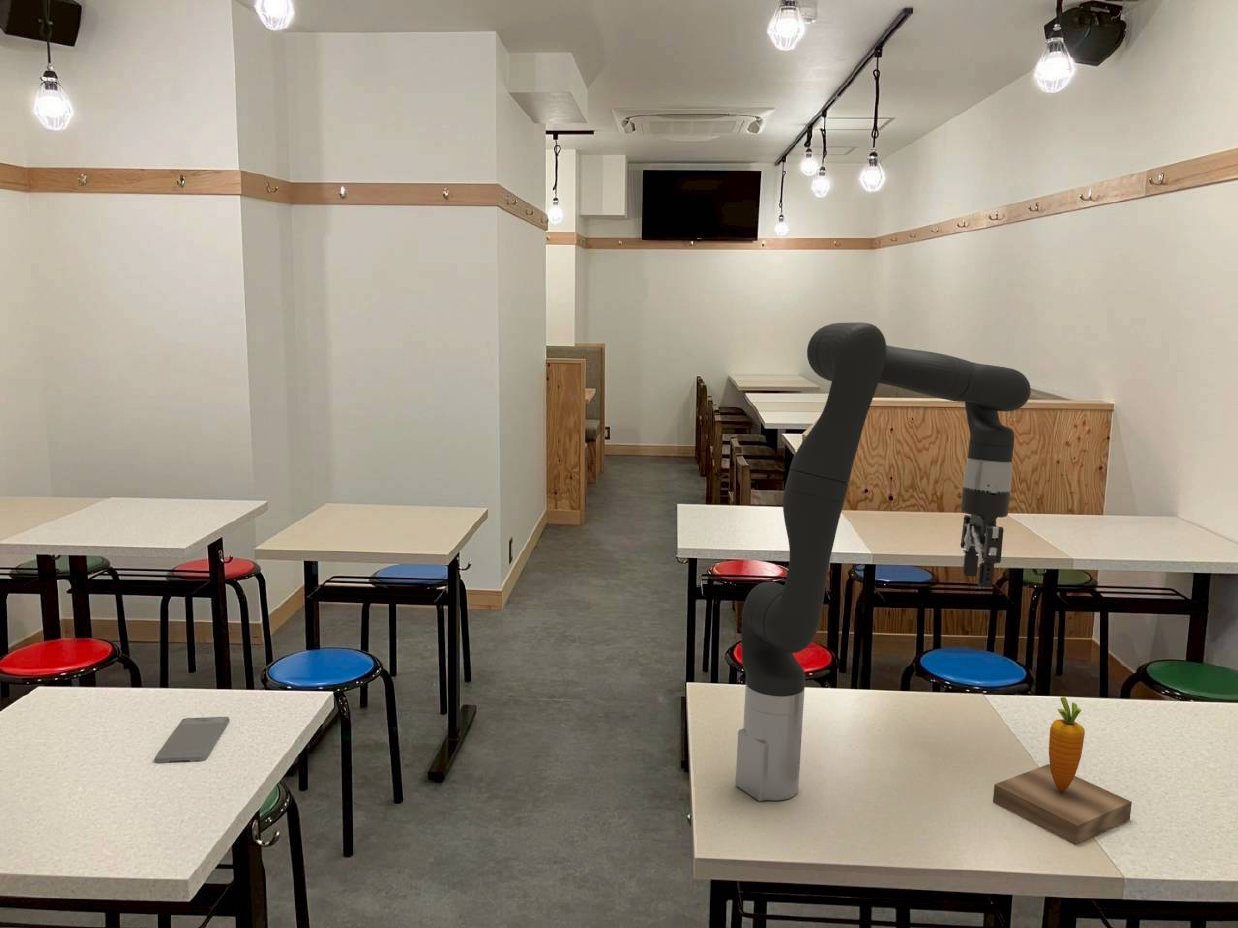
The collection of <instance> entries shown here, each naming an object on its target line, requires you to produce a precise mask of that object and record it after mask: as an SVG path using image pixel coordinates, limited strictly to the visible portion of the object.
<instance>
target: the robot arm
mask: <svg viewBox="0 0 1238 928" xmlns="http://www.w3.org/2000/svg"><path fill="white" fill-rule="evenodd" d="M808 341H809V342H808V345H807V349H806V350H807V351H806V356H807V361H808V363H809V367H810V368H811V369H812V370H813V372H814V373H815V374H816V375H817V376H818V377H821V378H822V379H824V380H826V381H829V382H830V387H829V391H828V396H827V399H826V402H825V405H824V407H823V409H822V412H821V414H820V416H819V418H818V420H816V422H815V424H814V425H813V427H812V428H811V430H810V431H809V432H808V434H807V435H806V437H804V440H803V441H802V442H801V444H800V445H799V446H798V447H797V450H796V452H795V454H794V455H793V457H792V460H791V462H790V463H791V464H790V467H789V471H788V475H787V478H786V482H785V486H784V490H783V491H784V492H783V495H782V510H783V518H784V519H783V520H784V524H785V530H786V534H787V540H788V546H789V547H788V548H789V561H788V569H787V574H786V578H785V583H784V585H783V584H781V583H778V582H775V581H764V582H761V583H758V584H756V585H755V586H754V587H753V588H752V589H750V592H749V593H748V595H747V597H746V598H745V601H744V603H743V604H744V605H743V609H742V615H741V664H742V667H743V670H744V672H745V689H744V690H745V692H744V703H743V704H744V706H743V727H742V728H740V729H738V731H737V748H736V750H737V751H736V765H735V766H736V767H735V769H736V771H735V786H736V787H738V788H739V789H740V790H742V791H744V792H745V793H747V794H748V795H749V796H751V797H752V798H754V799H755V800H757V801H758V802H763V801H783V800H789V799H791V798H793V797H795V796H796V795H797V794H798V793H799V786H800V785H799V784H800V772H801V770H800V768H801V752H802V751H801V750H802V735H803V733H802V732H803V717H804V703H805V690H806V689H805V686H806V672H805V670H804V668H803V666H802V665H801V664H800V662H799V661H798V660H797V658H796V656H794V654H798V653H799V652H802V651H804V650H805V649H807V648H808V646H809V645H811V643H812V642H813V641H814V639H815V637H816V634H817V632H818V630H819V627H820V622H821V618H822V612H823V606H824V600H825V593H826V586H827V579H828V573H829V565H830V561H831V557H832V551H833V547H834V545H835V544H834V542H835V538H836V533H837V530H838V526H839V522H840V518H841V515H842V510H843V507H844V506H845V505H844V504H845V501H846V497H847V493H848V488H849V483H850V481H851V474H852V470H853V465H854V461H855V458H856V455H857V451H858V448H859V444H860V440H861V437H862V433H863V430H864V429H863V428H864V425H865V421H866V420H867V416H868V413H869V411H870V408H871V405H872V402H873V399H874V397H875V393H876V391H877V388H878V385H879V384H881V385H882V384H884V385H886V386H892V387H895V388H899V389H902V390H907V391H911V392H914V393H919V394H922V395H926V396H930V397H933V398H938V399H942V400H947V401H950V402H957V403H958V402H959V403H964V406H965V412H966V418H967V425H968V430H969V443H968V452H967V453H968V454H967V461H966V465H965V469H964V473H963V474H964V475H963V486H962V492H961V493H962V495H961V505H960V511H961V512H962V513H964V514H965V515H964V516H963V523H962V532H961V540H960V548H961V549H962V552H963V554H964V556H963V557H964V558H963V564H962V565H963V566H962V567H963V568H962V574H963V575H964V576H965V577H976V576H977V585H978V586H979V587H985V588H991V587H992V586H993V582H994V571H995V566H996V565H997V564H1000V563H1001V562H1002V551H1003V541H1004V539H1003V538H1004V531H1005V530H1004V526H998V525H997V519H998V518H1005V517H1008V515H1009V509H1010V498H1011V490H1012V479H1013V470H1012V469H1013V468H1012V467H1013V463H1012V462H1013V456H1014V455H1013V453H1014V446H1015V445H1014V444H1015V432H1014V430H1013V429H1012V428H1010V427H1008V426H1006V425H1004V424H1002V423H1001V420H1000V416H999V412H1014V411H1016V410H1019V409H1021V408H1022V407H1024V405H1026V404H1027V402H1028V400H1029V399H1030V398H1031V397H1030V396H1031V392H1032V390H1031V384H1030V382H1029V381H1030V380H1029V379H1028V378H1027V377H1026V375H1024V374H1023V373H1022V372H1021V371H1019V370H1017V369H1015V368H1010V367H1006V366H999V365H992V364H991V365H990V364H983V363H977V362H973V361H969V360H967V359H964V358H960V357H957V356H952V355H948V354H944V353H939V352H933V351H926V350H921V349H920V350H919V349H910V348H905V347H898V346H892V345H888V344H887V341H886V338H885V336H884V334H883V332H882V331H881V329H880V328H879V327H878V326H876V325H874V324H872V323H870V322H869V323H868V322H835V323H830V324H827V325H824V326H823V327H820V328H819V329H818V330H816V331H815V332H814V333H813V335H812V336H811V337H810V339H809V340H808ZM978 564H979V566H978ZM977 573H978V574H977Z"/></svg>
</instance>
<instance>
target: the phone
mask: <svg viewBox="0 0 1238 928" xmlns="http://www.w3.org/2000/svg"><path fill="white" fill-rule="evenodd" d="M229 723H230V717H229V716H211V717H210V716H209V717H207V716H206V717H186V718H183V719H181V721H180V722H179V724H178V725H177V726H176V727H175V729H174V731H172V733H171V734H170V736H169V737H168V738H167V740H166V742H164V744H163V746H162V747H161V749H160V750H159V751H158V752H157V754H156V755H155V757H154V763H155V764H163V763H164V764H168V763H169V764H170V763H171V762H188V761H190V762H189V763H195V762H200V763H201V762H206V761H207V760H208V758H209V757H210V755H211V753H212V752H213V751H214V750H215V749H214V748H215V747H216V745H217V743H218V742H219V740H220V738H221V737H222V735H223V733H224V732H225V731H226V728H227V727H228V725H229Z"/></svg>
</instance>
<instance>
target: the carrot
mask: <svg viewBox="0 0 1238 928" xmlns="http://www.w3.org/2000/svg"><path fill="white" fill-rule="evenodd" d="M1059 699H1060V701H1061V705H1062V707H1063V708H1058V709H1057V711H1058V713H1059V714H1060V715H1061V717H1062V719H1056V720H1054V721H1052V723H1051V725H1050V728H1049V740H1048V757H1049V759H1048V760H1049V764H1050V769H1051V774H1052V777H1053V780H1054V782H1055V785H1056V787H1057V789H1058V790H1059V791H1060V792H1064V791H1065V790H1066V789H1067V788H1068V786H1069V785H1070V784H1071V782H1072V780H1073V778H1074V776H1076V774H1077V771H1078V768H1079V765H1080V763H1081V759H1082V752H1083V748H1084V741H1085V736H1086V735H1085V733H1086V732H1085V728H1084V727H1083V725H1081V724H1079V723H1078V722H1076V721H1075V720H1076V719H1077V717H1078V716H1079V714H1080V713H1081V712H1082V709H1081V708H1080V707H1078V704H1077V703H1075V702H1071V708H1070V705H1069V702H1068V700H1067V697H1066V696H1060V698H1059Z"/></svg>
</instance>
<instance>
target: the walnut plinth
mask: <svg viewBox="0 0 1238 928" xmlns="http://www.w3.org/2000/svg"><path fill="white" fill-rule="evenodd" d="M992 803H993V804H995V805H996V804H997V805H998V806H1000V807H1002V808H1004V809H1006V810H1007V811H1009V812H1011V813H1014V814H1015V815H1017V816H1018V817H1021V818H1023V819H1025V820H1027V821H1028V822H1030V823H1032V824H1034V825H1037V826H1039V827H1040V828H1042V829H1044V830H1047V832H1049V833H1052V834H1054V835H1056V836H1057V837H1060V838H1062V839H1064V840H1066V841H1067V842H1069V843H1071V844H1073V845H1075V846H1077V845H1079V844H1081V843H1082V842H1085V841H1087V840H1090V839H1092V838H1094V837H1096V836H1098V835H1100V834H1102V833H1104V832H1106V831H1109V830H1111V829H1113V828H1116V827H1118V826H1120V825H1123V824H1125V823H1126V822H1128V821H1130V819H1131V812H1132V804H1133V801H1132V800H1129V799H1127V798H1125V797H1123V796H1120V795H1118V794H1115V793H1113V792H1112V791H1109V790H1107V789H1105V788H1102V787H1100V786H1098V785H1096V784H1094V783H1091V782H1089V781H1087V780H1085V779H1083V778H1080V777H1078V776H1076V775H1075V776H1074V778H1073V780H1072V782H1071V784H1070V785H1069V786H1068V788H1067V789H1066V790H1065V791H1064V792H1060V791H1059V790H1058V789H1057V787H1056V785H1055V782H1054V780H1053V777H1052V774H1051V769H1050V763H1047V764H1045V765H1042V766H1039V767H1037V768H1034V769H1031V770H1028V771H1027V772H1023V773H1021V774H1018V775H1016V776H1012V777H1011V778H1007V779H1004V780H1002V781H1000V782H996V783H994V787H993V797H992Z"/></svg>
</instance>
